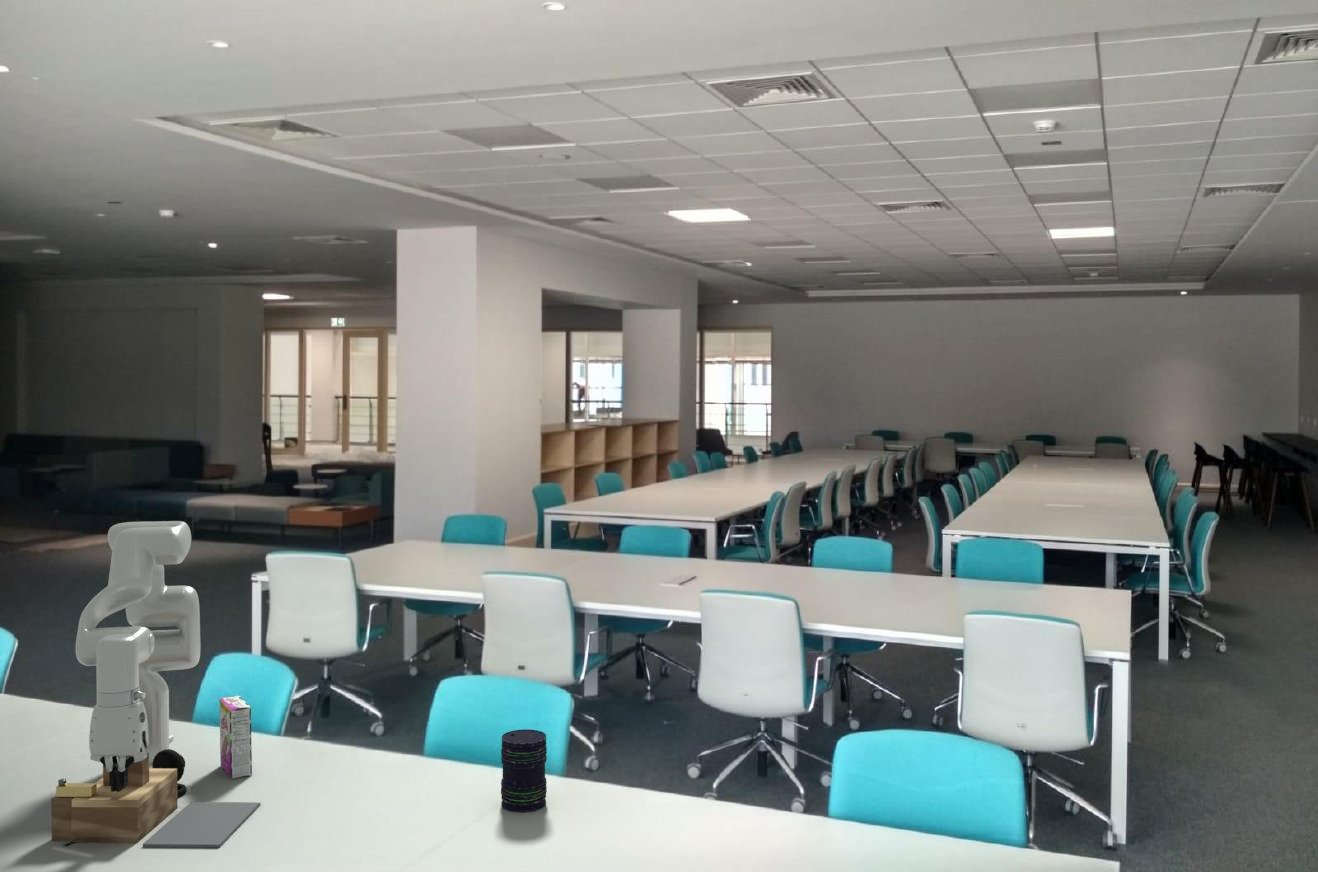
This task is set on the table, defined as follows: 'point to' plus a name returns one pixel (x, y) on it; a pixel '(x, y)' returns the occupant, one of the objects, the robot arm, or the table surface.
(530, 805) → the storage jar
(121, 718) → the robot arm
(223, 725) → the candy bar box
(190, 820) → the mat
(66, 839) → the open wooden box
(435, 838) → the table surface
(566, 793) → the table surface
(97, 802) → the lid
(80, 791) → the yellow bar with ball
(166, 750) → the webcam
